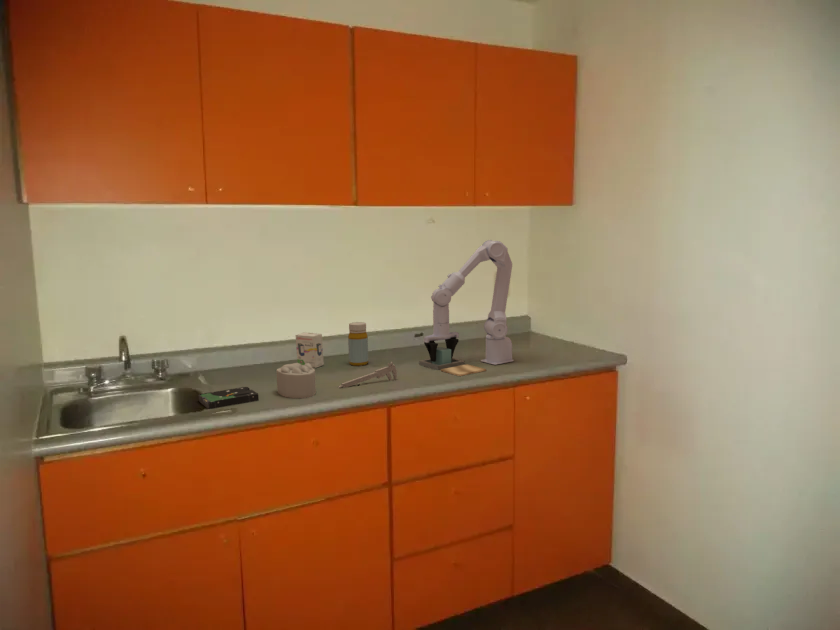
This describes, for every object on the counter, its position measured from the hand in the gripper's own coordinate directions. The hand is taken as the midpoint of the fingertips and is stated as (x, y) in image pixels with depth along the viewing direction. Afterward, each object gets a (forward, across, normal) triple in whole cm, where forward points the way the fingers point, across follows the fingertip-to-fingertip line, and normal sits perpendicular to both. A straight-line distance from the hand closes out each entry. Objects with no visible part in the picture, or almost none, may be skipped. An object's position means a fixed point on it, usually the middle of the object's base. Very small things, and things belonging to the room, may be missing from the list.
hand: (441, 359), depth 232 cm
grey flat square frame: (+2, 0, 0) cm, 2 cm away
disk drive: (+3, +77, -4) cm, 77 cm away
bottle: (+2, +22, -21) cm, 30 cm away
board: (+2, 0, +12) cm, 12 cm away
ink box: (+2, +37, -30) cm, 48 cm away
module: (+2, 0, 0) cm, 2 cm away
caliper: (+2, +34, +5) cm, 35 cm away
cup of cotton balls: (+2, +57, +1) cm, 57 cm away
